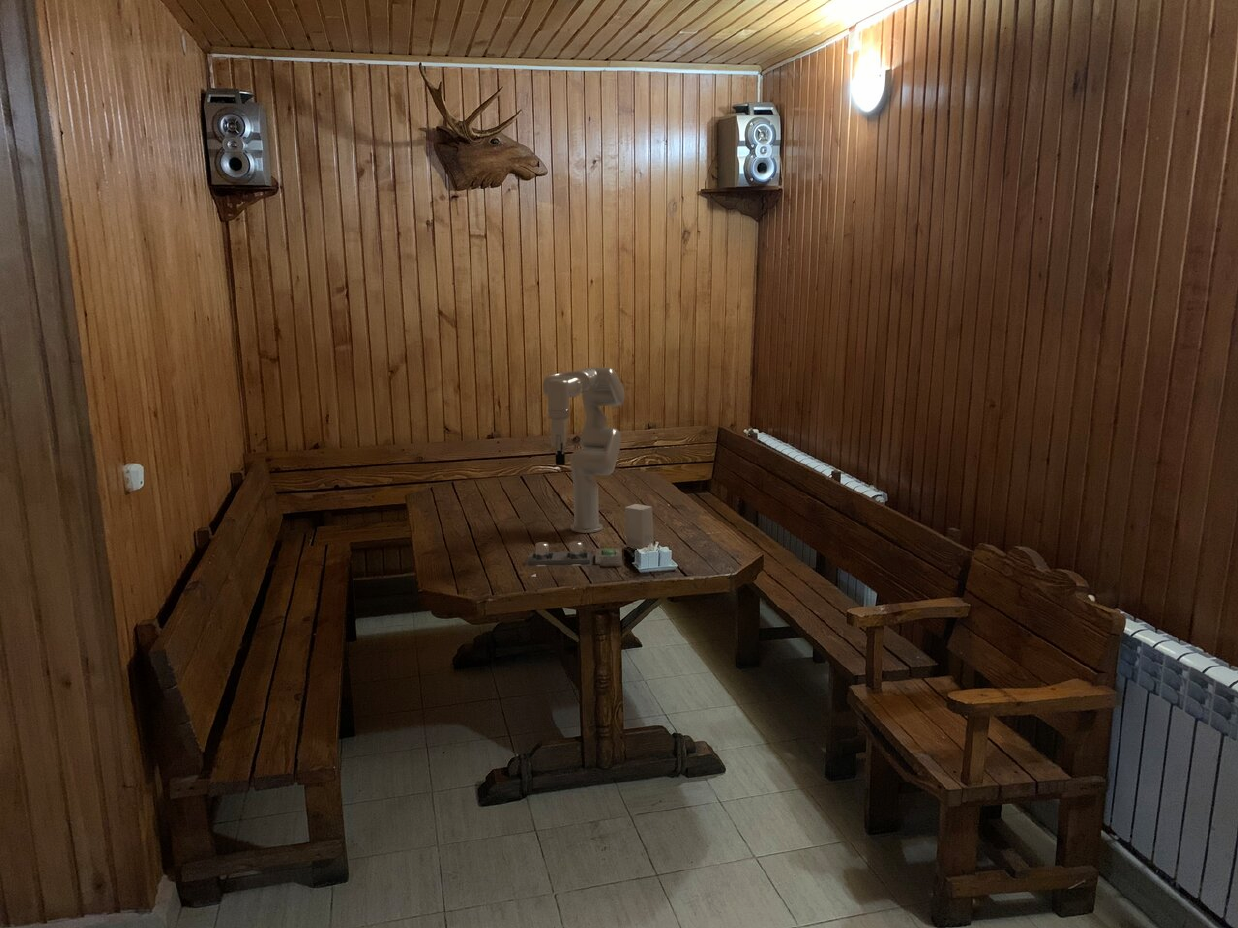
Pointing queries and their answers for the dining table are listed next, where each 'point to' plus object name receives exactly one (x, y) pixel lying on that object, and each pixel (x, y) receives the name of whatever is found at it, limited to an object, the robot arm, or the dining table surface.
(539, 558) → the billet
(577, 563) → the pallet
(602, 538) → the dining table surface
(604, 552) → the button
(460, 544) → the dining table surface
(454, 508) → the dining table surface
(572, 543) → the billet
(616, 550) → the button housing
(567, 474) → the dining table surface
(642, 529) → the skincare box
